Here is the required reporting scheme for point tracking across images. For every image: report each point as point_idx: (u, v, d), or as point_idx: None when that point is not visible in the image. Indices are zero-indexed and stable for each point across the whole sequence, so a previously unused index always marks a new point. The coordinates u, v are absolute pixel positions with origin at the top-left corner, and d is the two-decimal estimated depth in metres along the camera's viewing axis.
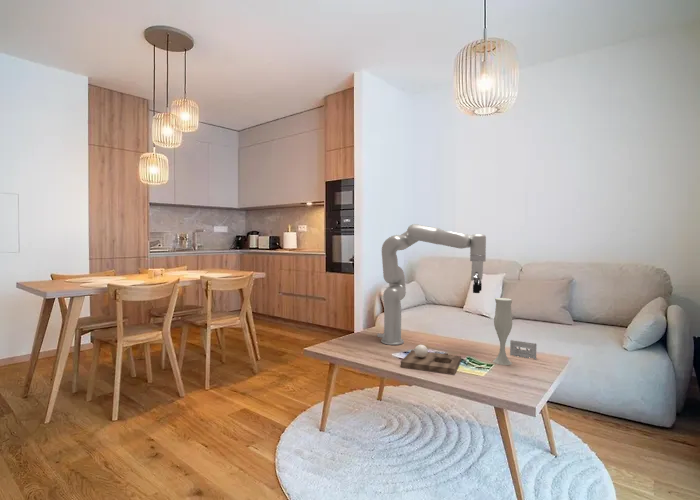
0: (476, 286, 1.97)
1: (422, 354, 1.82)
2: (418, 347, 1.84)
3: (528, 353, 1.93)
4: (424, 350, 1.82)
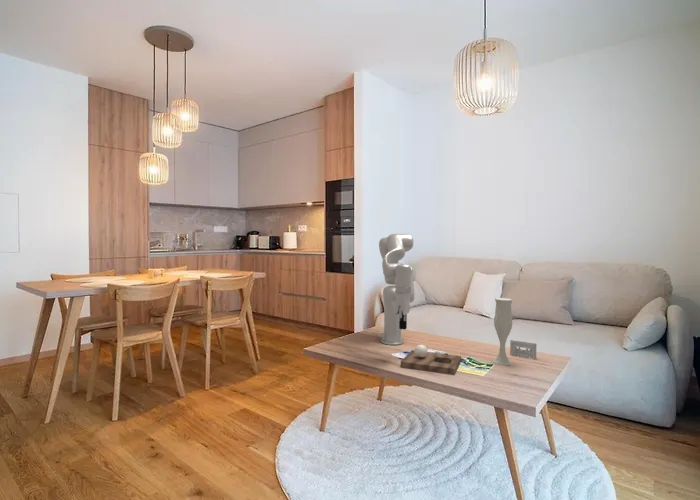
0: (402, 322, 1.86)
1: (422, 354, 1.82)
2: (418, 347, 1.84)
3: (528, 353, 1.93)
4: (424, 350, 1.82)
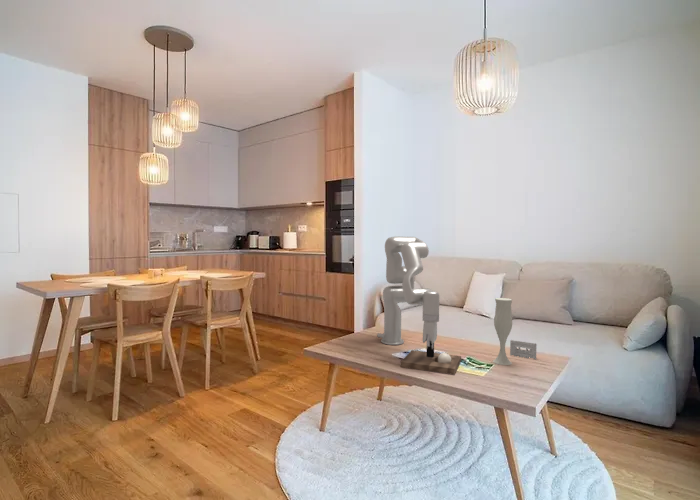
0: (430, 350, 1.82)
1: (443, 357, 1.78)
2: None
3: (528, 353, 1.93)
4: (439, 358, 1.79)
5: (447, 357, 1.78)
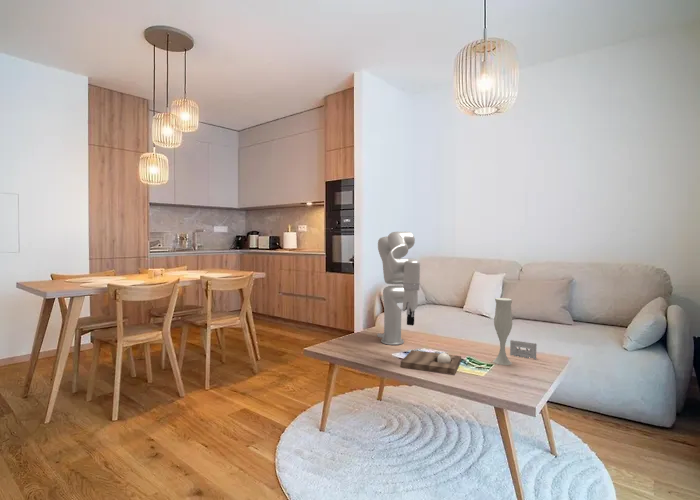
0: (410, 318, 1.86)
1: (442, 357, 1.78)
2: None
3: (528, 353, 1.93)
4: (438, 358, 1.79)
5: (446, 357, 1.78)
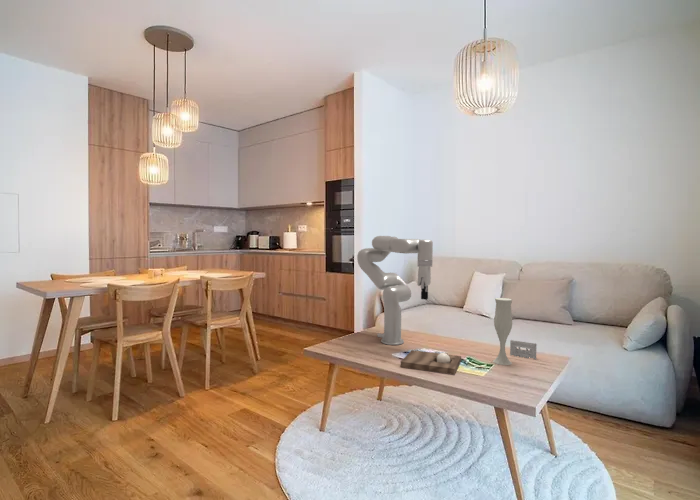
0: (424, 293, 2.02)
1: (441, 357, 1.79)
2: None
3: (528, 353, 1.93)
4: (437, 358, 1.80)
5: (445, 356, 1.78)
